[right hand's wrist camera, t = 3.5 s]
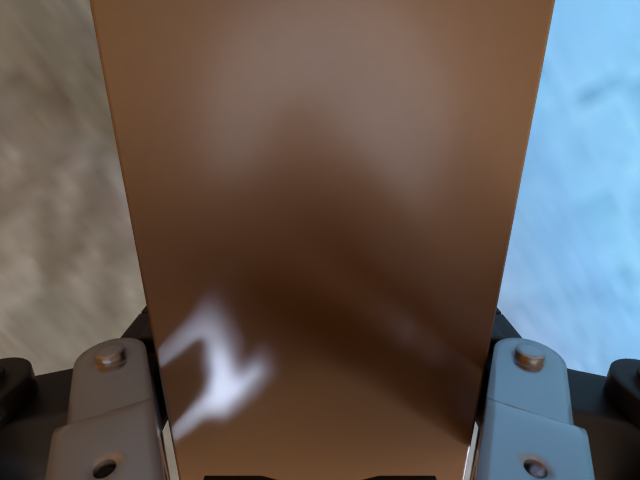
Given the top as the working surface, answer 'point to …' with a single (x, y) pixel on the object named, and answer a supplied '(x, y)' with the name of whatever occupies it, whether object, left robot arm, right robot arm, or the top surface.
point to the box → (322, 219)
